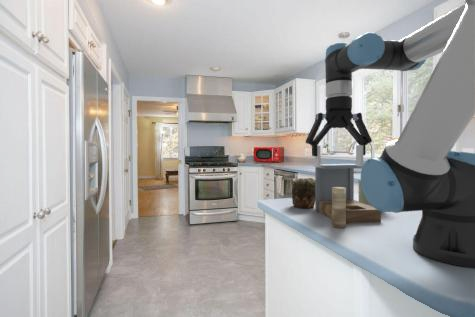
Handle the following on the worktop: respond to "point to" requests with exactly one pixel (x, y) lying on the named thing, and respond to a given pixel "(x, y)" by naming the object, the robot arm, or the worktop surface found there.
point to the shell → (303, 193)
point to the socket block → (353, 211)
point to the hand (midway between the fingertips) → (338, 166)
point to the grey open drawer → (333, 181)
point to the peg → (338, 207)
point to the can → (362, 195)
